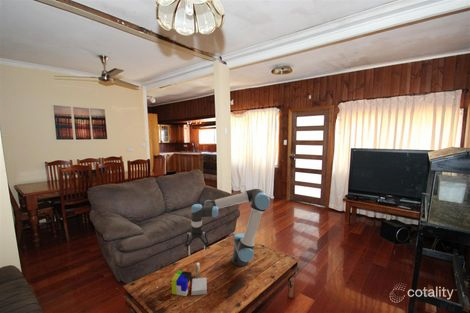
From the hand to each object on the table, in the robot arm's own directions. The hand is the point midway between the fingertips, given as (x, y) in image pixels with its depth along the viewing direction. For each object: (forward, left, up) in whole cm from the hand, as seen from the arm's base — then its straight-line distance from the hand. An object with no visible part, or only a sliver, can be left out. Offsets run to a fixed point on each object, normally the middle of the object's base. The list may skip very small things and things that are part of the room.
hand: (196, 254), depth 157 cm
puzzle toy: (+10, +12, -18) cm, 24 cm away
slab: (-2, +12, -18) cm, 22 cm away
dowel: (0, 0, -18) cm, 18 cm away
